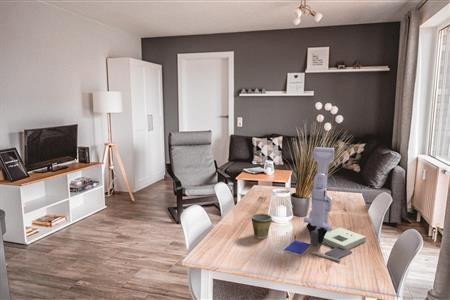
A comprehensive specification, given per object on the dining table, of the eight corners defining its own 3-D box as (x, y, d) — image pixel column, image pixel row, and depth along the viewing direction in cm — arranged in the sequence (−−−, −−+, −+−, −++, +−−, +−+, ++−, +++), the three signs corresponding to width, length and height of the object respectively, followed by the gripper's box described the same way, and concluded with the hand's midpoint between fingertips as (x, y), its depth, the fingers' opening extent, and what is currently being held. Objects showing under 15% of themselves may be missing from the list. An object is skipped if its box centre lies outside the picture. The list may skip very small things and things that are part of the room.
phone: (325, 254, 142) (325, 252, 142) (339, 247, 148) (340, 245, 148) (336, 259, 137) (337, 257, 137) (351, 252, 143) (351, 250, 143)
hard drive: (294, 239, 154) (283, 249, 144) (311, 244, 150) (300, 254, 140) (294, 242, 155) (283, 252, 145) (311, 247, 150) (300, 257, 140)
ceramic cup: (270, 241, 155) (271, 221, 153) (249, 239, 157) (250, 219, 155) (272, 230, 167) (272, 212, 166) (253, 229, 169) (253, 211, 168)
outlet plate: (318, 240, 156) (318, 235, 156) (340, 232, 167) (340, 227, 166) (343, 251, 145) (344, 245, 145) (365, 241, 155) (365, 236, 155)
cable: (311, 253, 142) (312, 251, 142) (313, 252, 143) (313, 250, 143) (339, 262, 135) (339, 260, 134) (340, 261, 136) (340, 259, 135)
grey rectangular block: (310, 243, 152) (310, 231, 152) (315, 241, 155) (316, 229, 154) (317, 246, 149) (317, 234, 148) (322, 244, 152) (323, 232, 151)
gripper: (300, 210, 153) (298, 237, 155) (325, 219, 142) (324, 248, 144) (309, 207, 157) (308, 234, 159) (335, 216, 146) (333, 244, 148)
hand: (316, 240), depth 152 cm, fingers closed on grey rectangular block, 4 cm apart
